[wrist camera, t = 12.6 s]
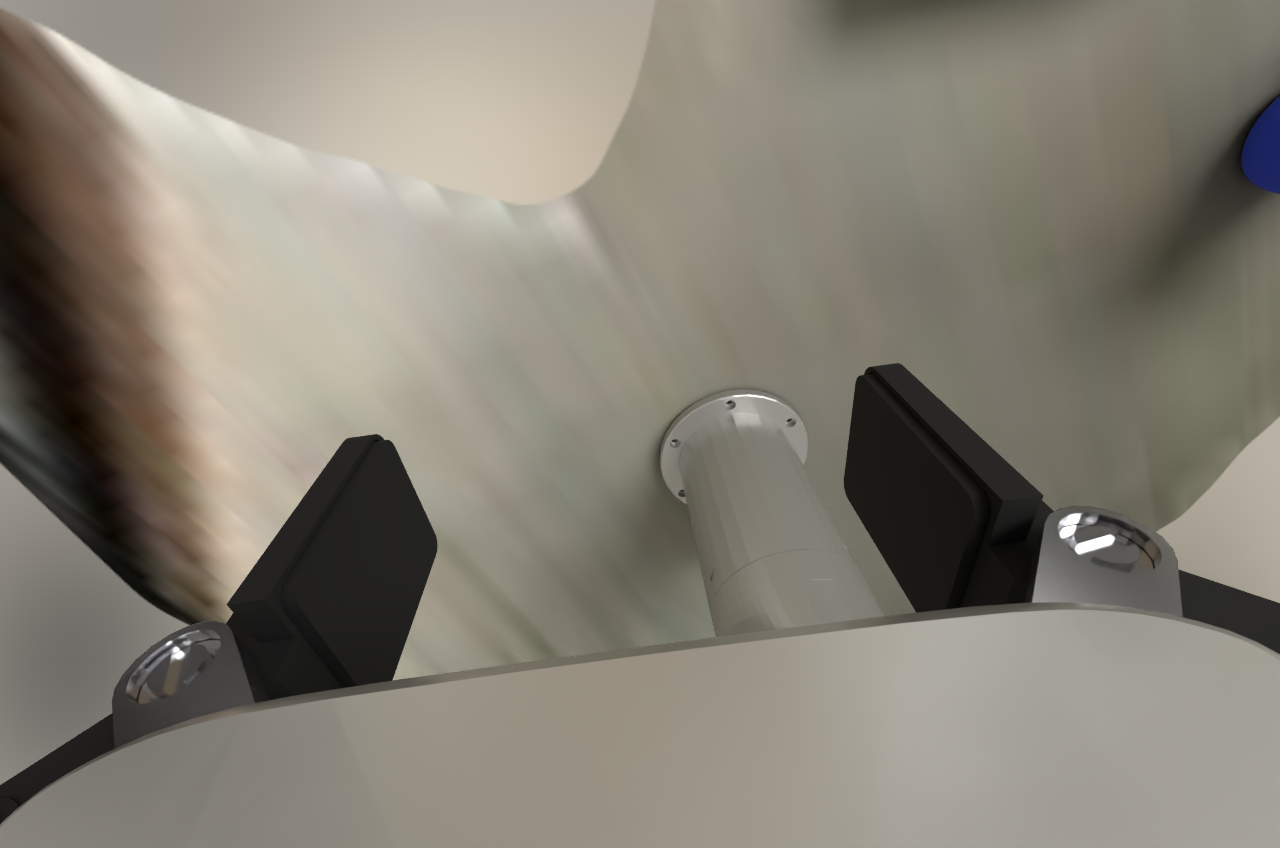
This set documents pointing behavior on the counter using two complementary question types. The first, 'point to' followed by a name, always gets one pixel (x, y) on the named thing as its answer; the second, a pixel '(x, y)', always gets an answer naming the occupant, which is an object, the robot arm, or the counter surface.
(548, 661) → the robot arm
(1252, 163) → the mug
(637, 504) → the counter surface
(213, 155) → the counter surface
